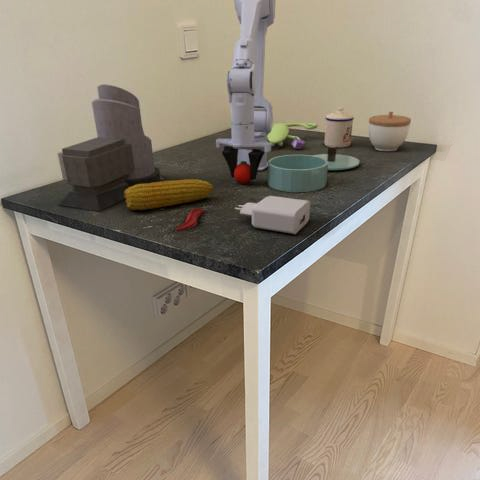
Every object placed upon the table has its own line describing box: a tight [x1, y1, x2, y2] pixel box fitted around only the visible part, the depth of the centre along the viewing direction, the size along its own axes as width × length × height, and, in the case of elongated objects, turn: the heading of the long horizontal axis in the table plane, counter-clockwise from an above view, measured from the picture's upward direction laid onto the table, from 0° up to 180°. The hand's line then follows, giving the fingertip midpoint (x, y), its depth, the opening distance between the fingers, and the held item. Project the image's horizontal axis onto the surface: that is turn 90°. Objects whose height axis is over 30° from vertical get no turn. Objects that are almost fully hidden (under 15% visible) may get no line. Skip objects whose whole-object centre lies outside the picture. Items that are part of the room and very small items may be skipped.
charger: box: [234, 195, 311, 235], centre depth 100 cm, size 5×9×15 cm
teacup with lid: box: [324, 106, 355, 149], centre depth 158 cm, size 12×9×12 cm
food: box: [124, 178, 214, 211], centre depth 111 cm, size 21×6×6 cm, turn 118°
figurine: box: [267, 122, 319, 150], centre depth 163 cm, size 18×27×6 cm
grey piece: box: [57, 83, 166, 212], centre depth 117 cm, size 30×16×24 cm, turn 156°
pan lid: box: [312, 146, 361, 172], centre depth 139 cm, size 16×16×5 cm
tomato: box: [234, 161, 252, 185], centre depth 125 cm, size 5×5×6 cm
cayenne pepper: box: [174, 208, 205, 231], centre depth 103 cm, size 12×5×2 cm, turn 149°
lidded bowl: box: [368, 111, 412, 152], centre depth 152 cm, size 13×13×11 cm
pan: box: [267, 154, 329, 193], centre depth 124 cm, size 15×15×6 cm
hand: (243, 177), depth 125 cm, fingers closed on tomato, 5 cm apart
